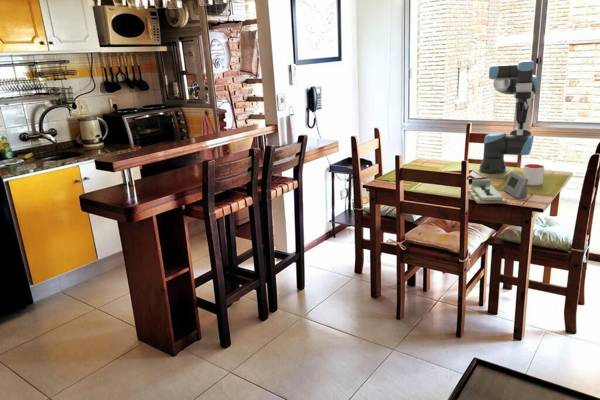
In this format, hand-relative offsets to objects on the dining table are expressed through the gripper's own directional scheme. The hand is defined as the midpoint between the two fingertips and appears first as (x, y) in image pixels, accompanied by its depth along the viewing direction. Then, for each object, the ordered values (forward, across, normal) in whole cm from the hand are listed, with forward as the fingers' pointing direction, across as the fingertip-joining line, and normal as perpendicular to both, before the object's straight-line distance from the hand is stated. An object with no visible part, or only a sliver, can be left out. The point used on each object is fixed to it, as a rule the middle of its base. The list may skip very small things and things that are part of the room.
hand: (519, 134), depth 250 cm
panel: (+25, +27, -23) cm, 43 cm away
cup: (+27, +6, +7) cm, 28 cm away
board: (+26, +24, -23) cm, 42 cm away
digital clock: (+27, +24, -8) cm, 37 cm away
